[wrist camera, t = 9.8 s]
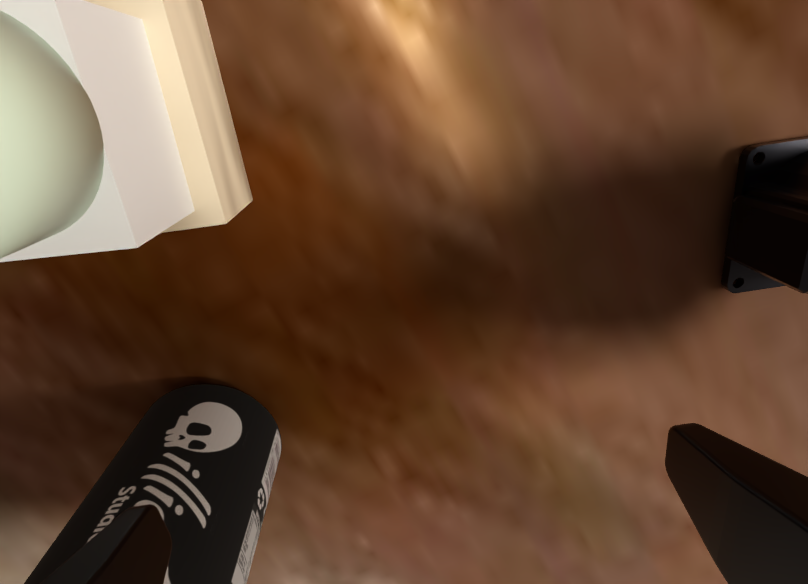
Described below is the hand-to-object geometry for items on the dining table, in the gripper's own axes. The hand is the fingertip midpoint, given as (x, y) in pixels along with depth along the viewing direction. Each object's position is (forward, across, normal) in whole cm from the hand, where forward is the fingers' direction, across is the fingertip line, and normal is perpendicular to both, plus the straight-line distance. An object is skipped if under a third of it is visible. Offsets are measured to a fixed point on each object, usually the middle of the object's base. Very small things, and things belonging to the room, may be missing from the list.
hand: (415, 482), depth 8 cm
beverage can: (+13, +10, +8) cm, 18 cm away
